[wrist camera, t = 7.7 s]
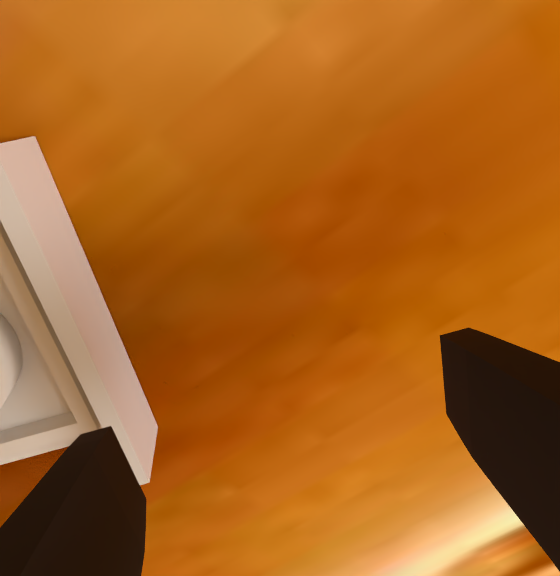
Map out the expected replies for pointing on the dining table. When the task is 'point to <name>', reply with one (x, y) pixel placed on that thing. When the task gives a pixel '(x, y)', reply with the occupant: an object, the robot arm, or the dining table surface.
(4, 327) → the beige rounded shape
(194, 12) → the dining table surface
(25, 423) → the tray
